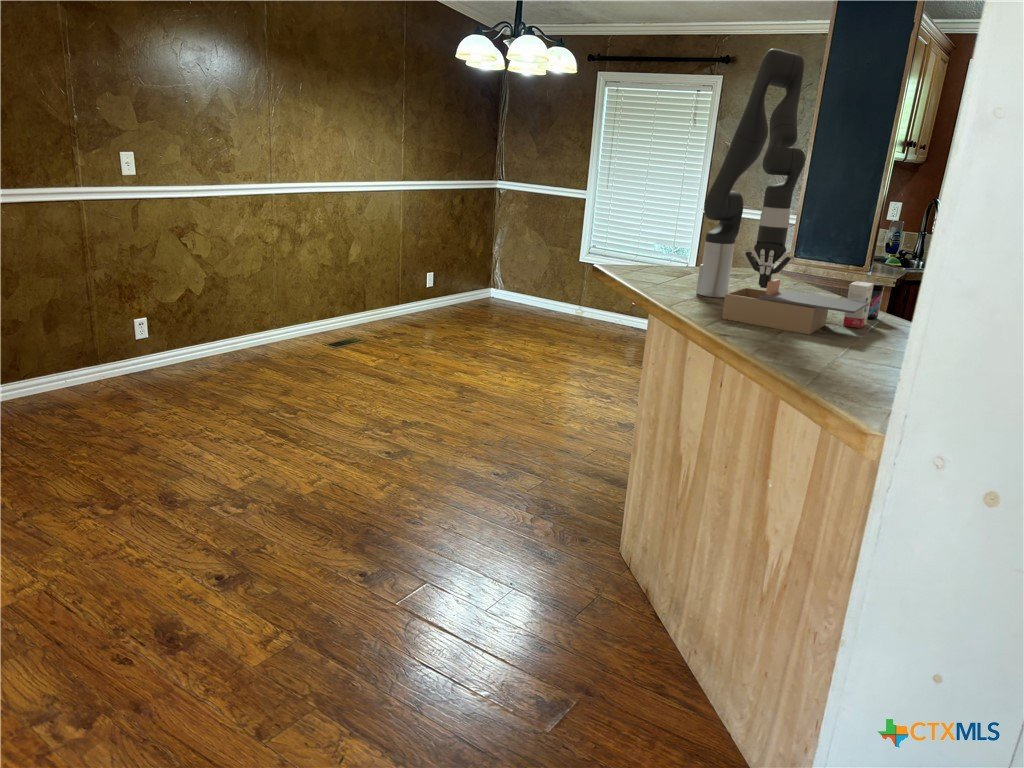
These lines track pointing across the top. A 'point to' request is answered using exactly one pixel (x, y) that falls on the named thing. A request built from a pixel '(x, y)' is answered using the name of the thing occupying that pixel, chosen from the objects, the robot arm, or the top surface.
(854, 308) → the mailer lid
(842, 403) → the top surface
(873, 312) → the supplement container
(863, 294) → the ink box
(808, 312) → the box
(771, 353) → the top surface
